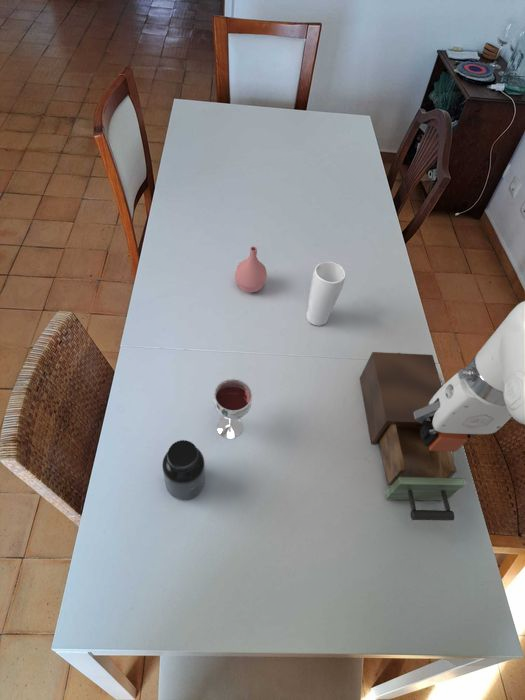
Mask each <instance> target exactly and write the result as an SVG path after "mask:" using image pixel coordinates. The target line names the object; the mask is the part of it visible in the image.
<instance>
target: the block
mask: <svg viewBox="0 0 525 700" xmlns="http://www.w3.org/2000/svg"><path fill="white" fill-rule="evenodd" d="M467 441H469V439H468V436H467V434H456V433H442V432H438V437H437V438H436V439H435V440H434V441H433V442H432V443H431V445H429V450H430V451H451V452H457V451H458V450H459V449H461V447H462V446H463V445H464V444H466V443H467Z"/></svg>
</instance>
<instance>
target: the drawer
mask: <svg viewBox="0 0 525 700" xmlns="http://www.w3.org/2000/svg"><path fill="white" fill-rule="evenodd" d="M422 427H423V424H397V423H389V424H388V426H387V427H386V429H385V430H384V432H383V433H382V435H381V436H380V438H379V442H380V444H379V447H380V452H381V457H382V463H383V468H384V474H385V479H386V483H387V485H386V486H390V487H388V489H387V490H386V491H385V492H384V495H385V496H384V497H385V500H395V501H396V500H397V501H398V500H399V501H409V504H410V508H411V510H410V512H409V513H410V514H409V515H410V520H412V521H446V522H447V521H449V522H450V521H451V522H452V521H455V518H456V517H455V511H453V510H451V507H450V503H449V499H450V498H451V497H452V496H454V495H455V494H456V493H457V492H459V491H460V490H461V489H463V488H464V487H465V486H466V481H465V478H462V477H452V476H453V475H454V474H455V473H457V472H458V470H457V467H456V463H455V460H454V456H453V451H430V450H429V446H425V445H424V441H423V439H422V438H421V436H420V430H421V428H422ZM415 501H443V505H444V509H445V510H443V509H440V510H438V509H417V507H416V502H415Z"/></svg>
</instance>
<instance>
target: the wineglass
mask: <svg viewBox="0 0 525 700" xmlns="http://www.w3.org/2000/svg"><path fill="white" fill-rule="evenodd" d="M213 396H214V397H213V407H214V409H215V410H216V413H218V415H220V416H221V417H222V418H220V419H219V421H218V423H217V425H216V426H217V428H216V429H217V432H218V433H219V435H220V436H222V437H223V438H225V439H231V440H232V439H235V438H237V437H239V436H240V435H241V434H242V433H243V430H244V429H243V428H244V425H243V422H242V421H241V418H243V417H244V416H246V414H248V412H249V411H250V409H251V407H252V401H253V392H252V389H251V387H250V386H249V385H248V384H247V383H246V382H245V381H243V380H241V379H238V378H228V379H225V380H223V381H220V383H219V384H217V385H216V388H214V393H213Z"/></svg>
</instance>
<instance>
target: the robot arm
mask: <svg viewBox="0 0 525 700" xmlns="http://www.w3.org/2000/svg"><path fill="white" fill-rule="evenodd" d="M413 414H414V418H415V420H416V421H417V422H419V423H422V424H423V427H422V428H421V430H420V436H421V438H422V439H423V441H424V445H425V446H429V445H431V443H432V442H433V441H434V440H435V439H436V438H437V437H438V432H442V433H456V434H467V436H468V440H470V439H471V437H473V436H477V435H492V434H495V433H497V432H498V431H499V430H500V429H502V427H504V425H506V423H507V422H509V421H510V420H511V418H512V419H513V420H514V421H516V422H518V423H519V424H521V425H523V426H525V300H524V301H521V302H519V303H518V304H517V305H516V306H515V307H514V308H512V310H511V311H510V312H509V313H508V315H507V316H506V317H505V318H504V320H503V321H502V322H501V323H500V324H499V326H498V327H497V328H496V330H494V332H493V333H492V335H490V337H489V338H488V339H487V341H485V343H484V344H483V345H482V347H481V348H480V349H479V351H478V352H477V353H476V354H475V356H474V357H473V358H472V360H470V362H468V364H467V365H466V367H465V368H460V369H459V370H458V372H457V373H455V374H454V375H453V376H452V377H450V379H449V380H447V381H446V382H445V383H444V384H442V387H441V388H440V389H439V390H438V391H437V393H436V394H435V395H434V396H433V397H432V399H431V400H430V402H429V404H428V406H426V407H423V408H421V409H419V410H416V411H414V412H413Z"/></svg>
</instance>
